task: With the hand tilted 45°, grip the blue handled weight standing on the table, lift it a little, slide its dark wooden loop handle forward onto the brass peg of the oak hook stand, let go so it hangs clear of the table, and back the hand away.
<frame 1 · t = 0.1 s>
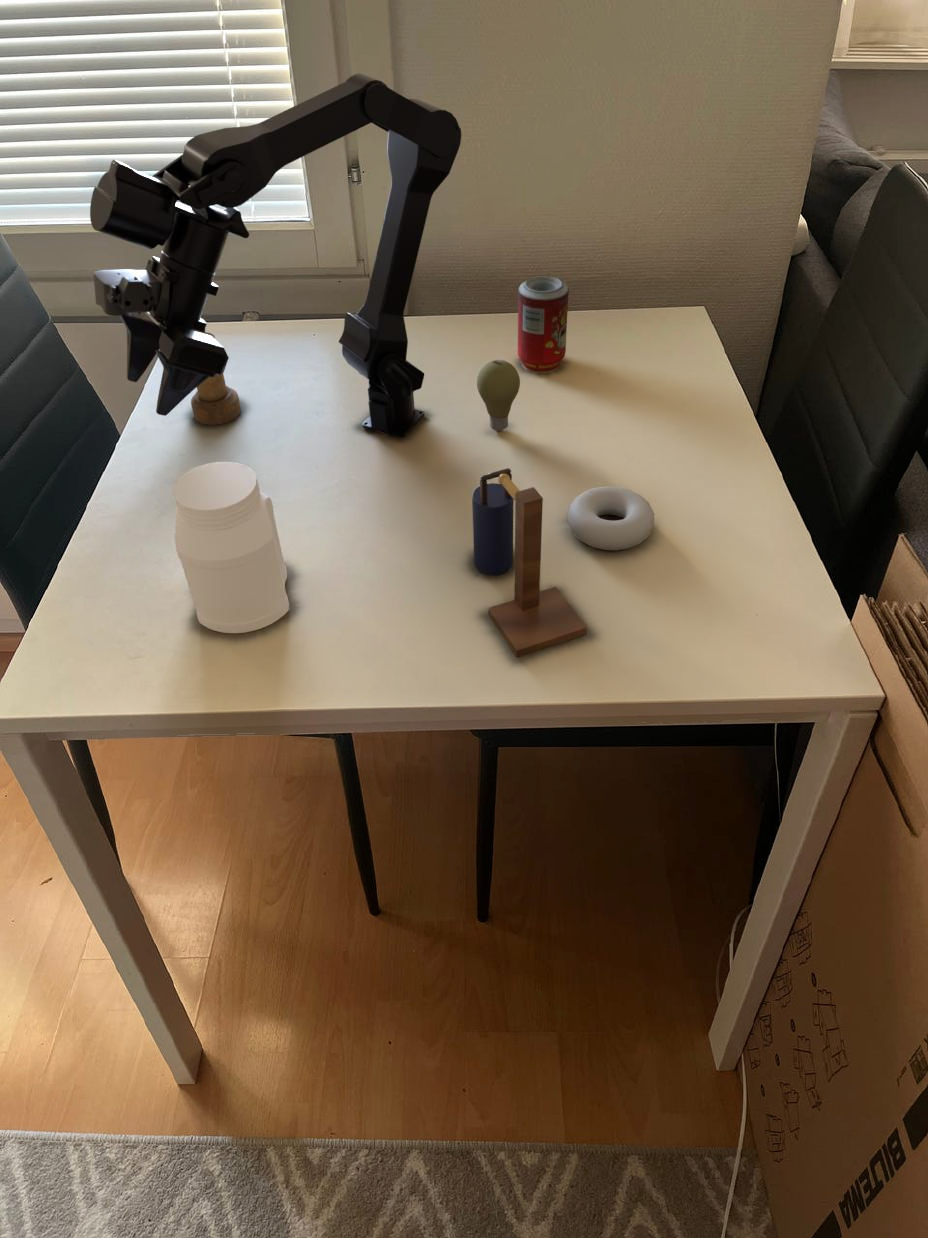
hand: (145, 397, 104), 15 cm above the table, tool tilted 35°, fingers open, 9 cm apart
light bulb: (498, 431, 124), on the table
hook stand: (526, 609, 98), on the table
blue handled weight: (493, 562, 104), on the table
jar: (244, 598, 101), on the table
mortar and pestle: (218, 413, 130), on the table
soda can: (541, 364, 137), on the table
donut: (609, 530, 108), on the table
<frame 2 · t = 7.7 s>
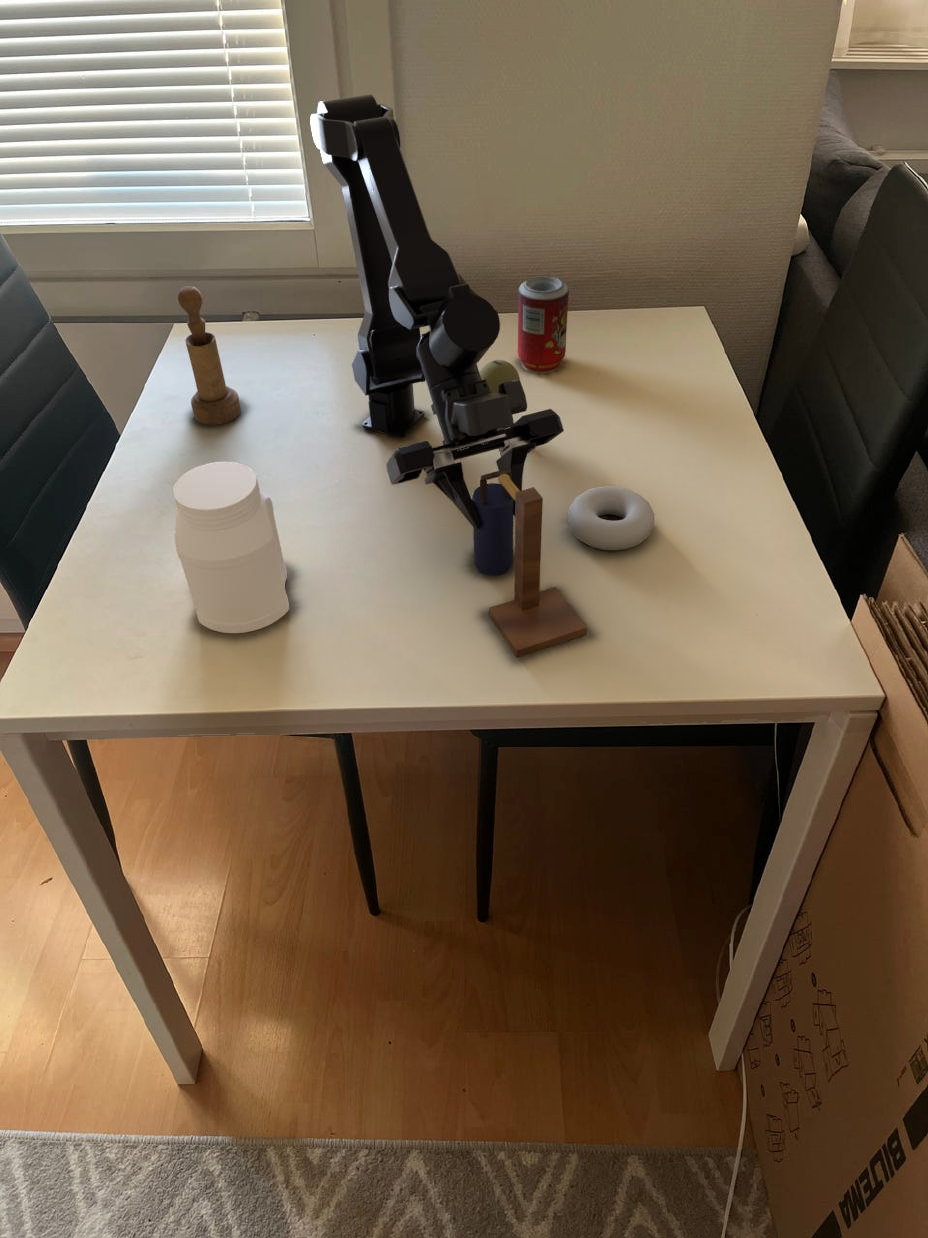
hand: (498, 523, 99), 7 cm above the table, tool tilted 45°, fingers closed on blue handled weight, 4 cm apart
blue handled weight: (493, 562, 104), on the table, touching gripper
everything else where it was.
when the fingers open (8 cm above the table, at t = 11.3 s): blue handled weight stays where it is, resting on hook stand.
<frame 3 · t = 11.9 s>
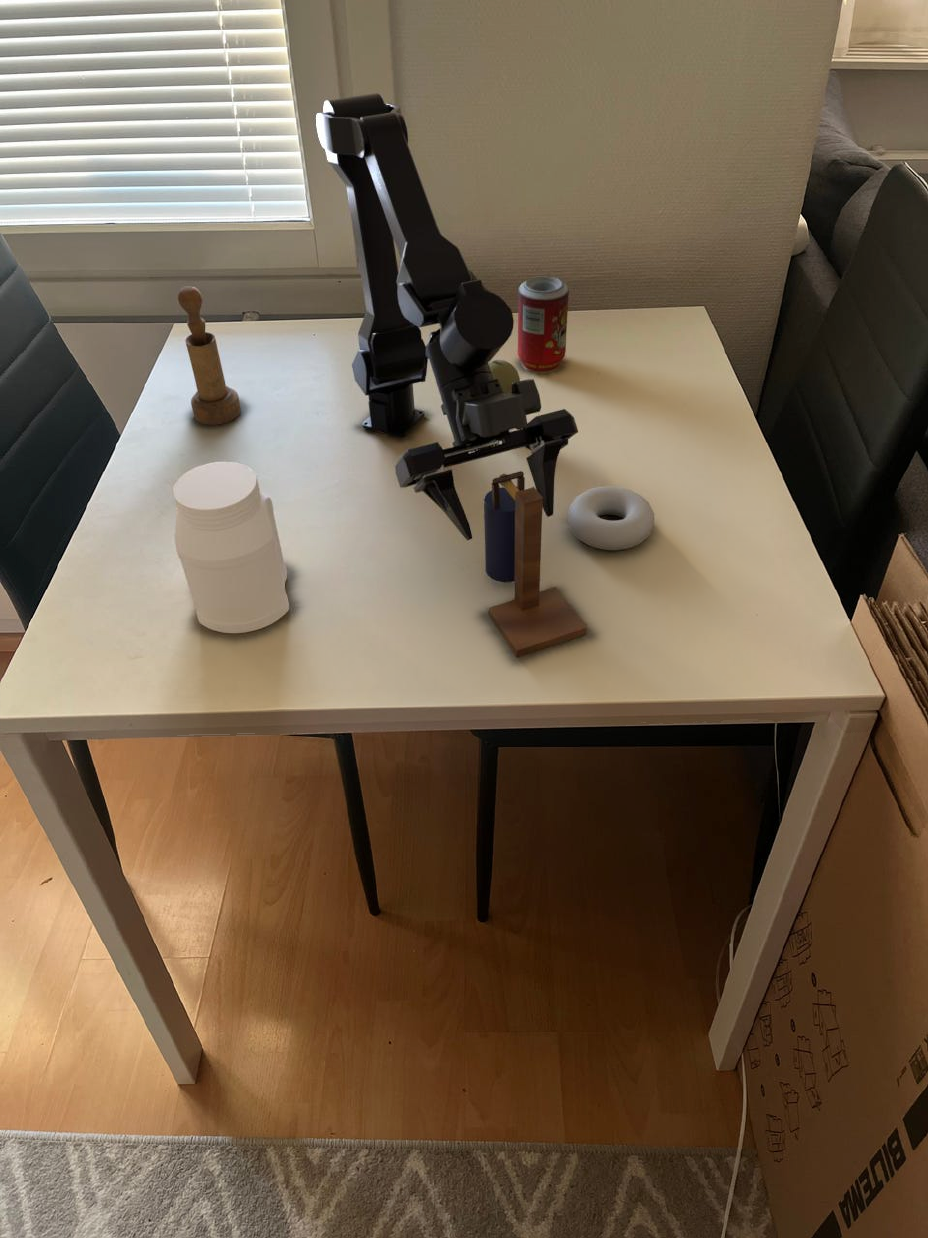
hand: (510, 527, 96), 8 cm above the table, tool tilted 45°, fingers open, 9 cm apart
blue handled weight: (505, 569, 101), point 1 cm above the table, touching hook stand
everything else where it was.
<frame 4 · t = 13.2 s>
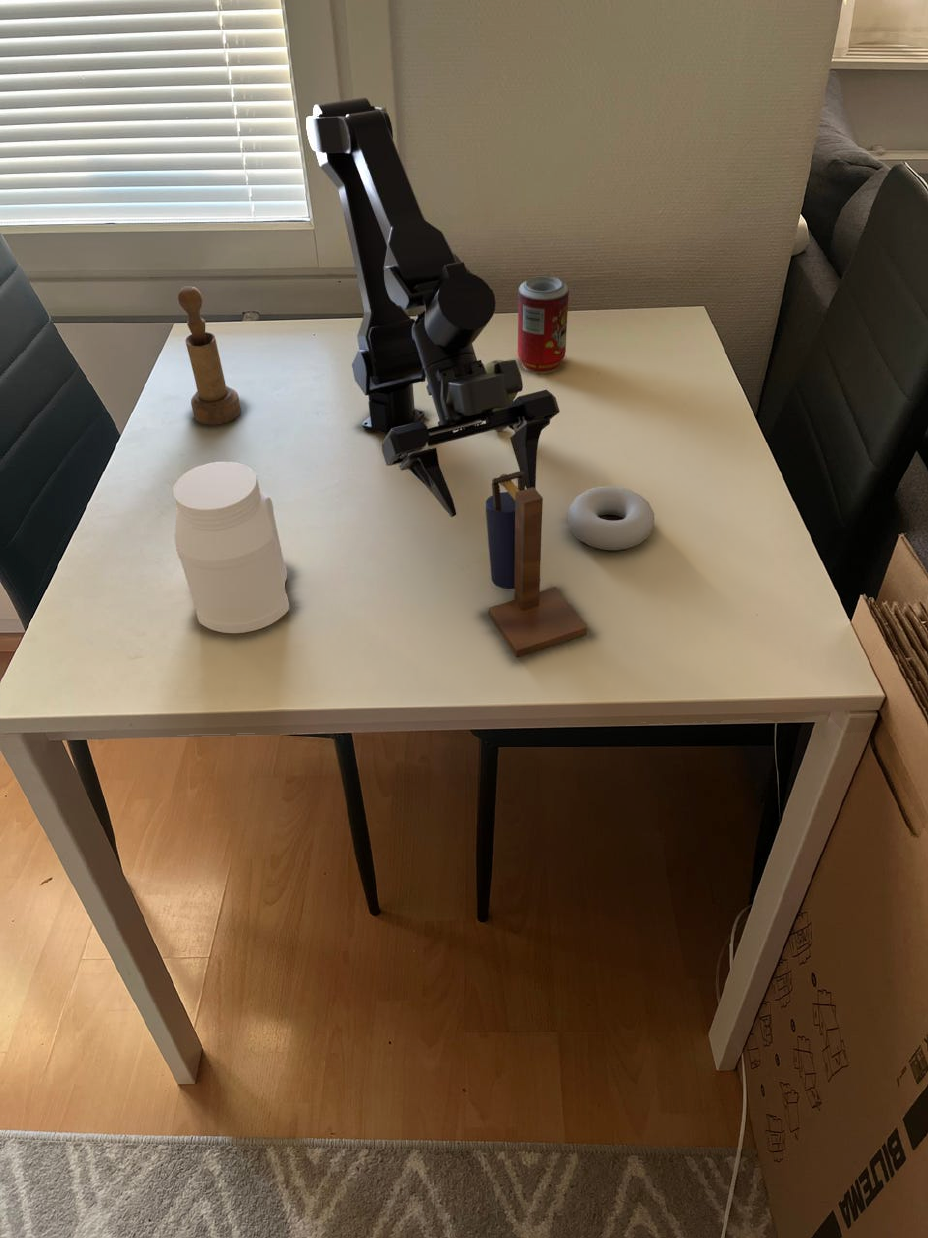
hand: (493, 504, 98), 8 cm above the table, tool tilted 45°, fingers open, 9 cm apart
blue handled weight: (511, 578, 100), point 2 cm above the table, tilted 9°, touching hook stand
everything else where it was.
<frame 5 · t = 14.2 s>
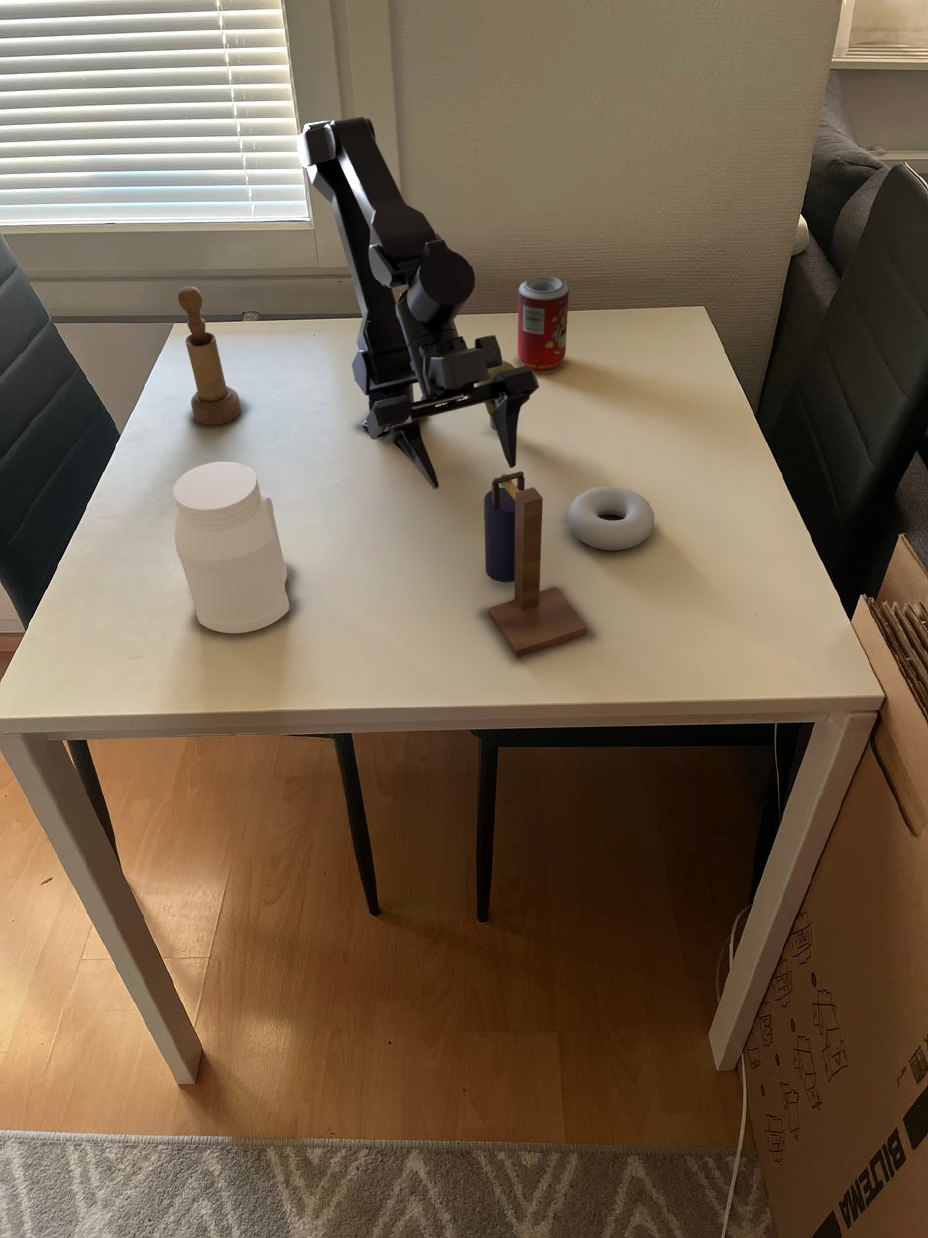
hand: (475, 477, 101), 9 cm above the table, tool tilted 45°, fingers open, 9 cm apart
blue handled weight: (505, 569, 101), point 1 cm above the table, touching hook stand
everything else where it was.
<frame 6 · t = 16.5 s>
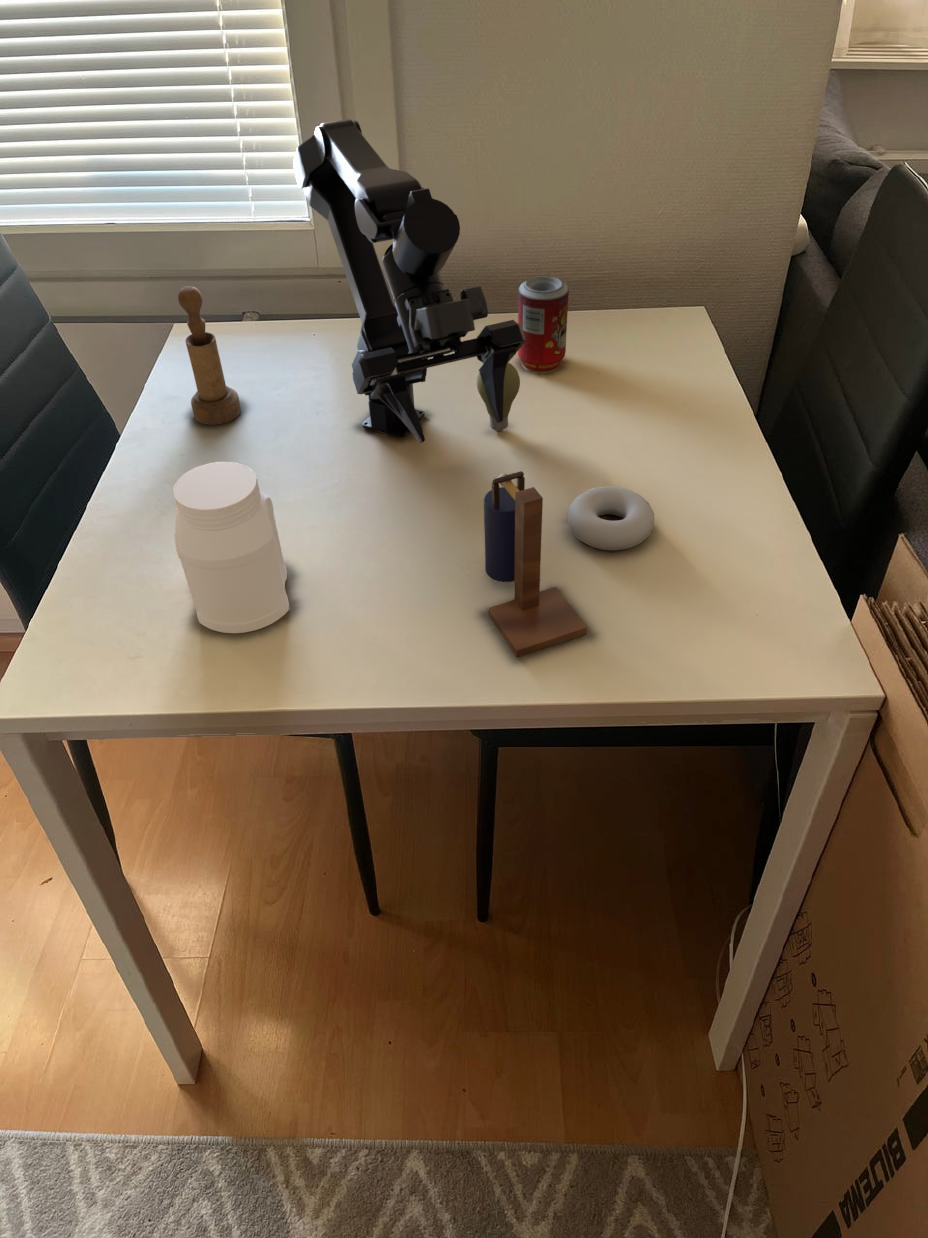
hand: (462, 431, 101), 13 cm above the table, tool tilted 45°, fingers open, 9 cm apart
nothing on the table moved.
at the end: blue handled weight 1.4 cm from the target spot on the hook stand, point 1.5 cm above the hook stand's base; blue handled weight touching hook stand; blue handled weight tilted 5° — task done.
